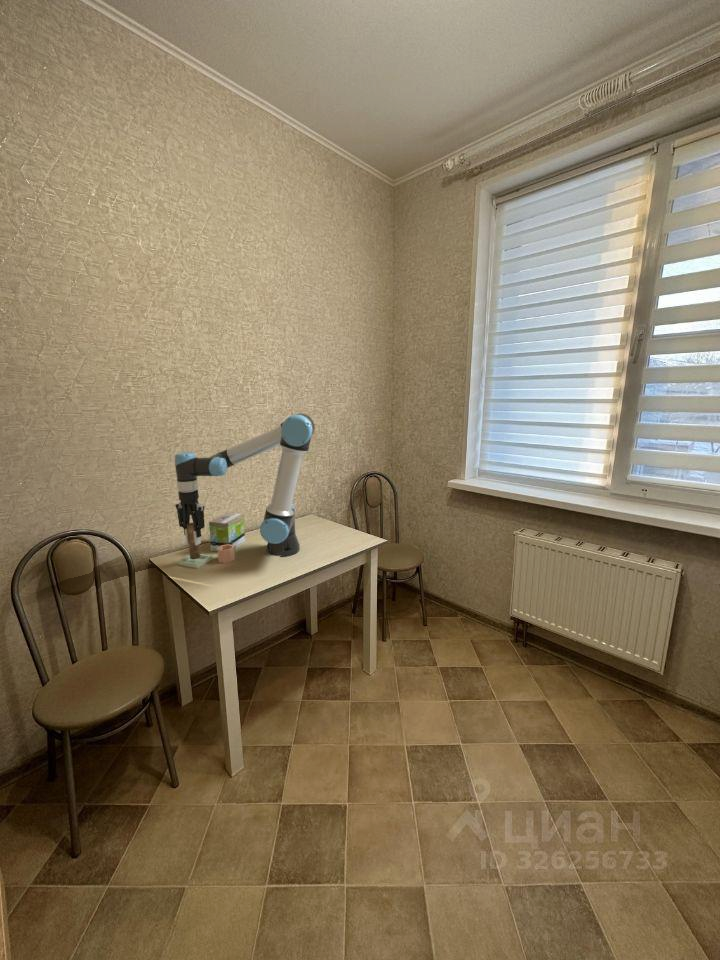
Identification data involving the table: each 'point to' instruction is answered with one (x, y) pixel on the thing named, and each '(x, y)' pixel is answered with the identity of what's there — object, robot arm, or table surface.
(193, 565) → the tray
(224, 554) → the cup
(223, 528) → the tea box
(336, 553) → the table surface
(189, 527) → the dowel
